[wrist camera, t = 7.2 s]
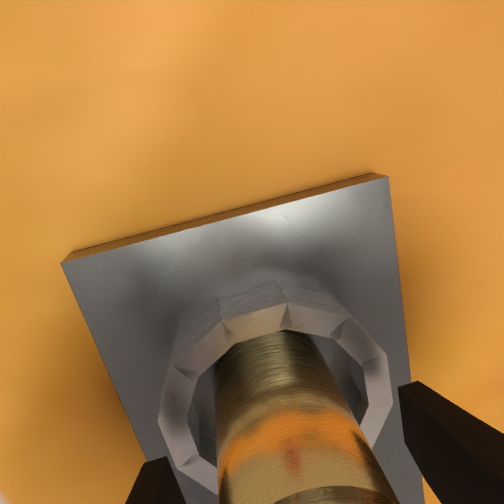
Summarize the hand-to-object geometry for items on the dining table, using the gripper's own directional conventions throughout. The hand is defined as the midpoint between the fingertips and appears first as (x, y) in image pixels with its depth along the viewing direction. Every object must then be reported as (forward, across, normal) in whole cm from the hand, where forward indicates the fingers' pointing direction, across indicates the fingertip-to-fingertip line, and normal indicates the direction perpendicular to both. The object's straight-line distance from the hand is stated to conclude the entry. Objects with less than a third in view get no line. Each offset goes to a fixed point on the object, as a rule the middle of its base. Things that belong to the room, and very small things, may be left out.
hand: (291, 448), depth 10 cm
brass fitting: (+3, 0, 0) cm, 3 cm away
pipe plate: (+4, 0, +3) cm, 5 cm away
